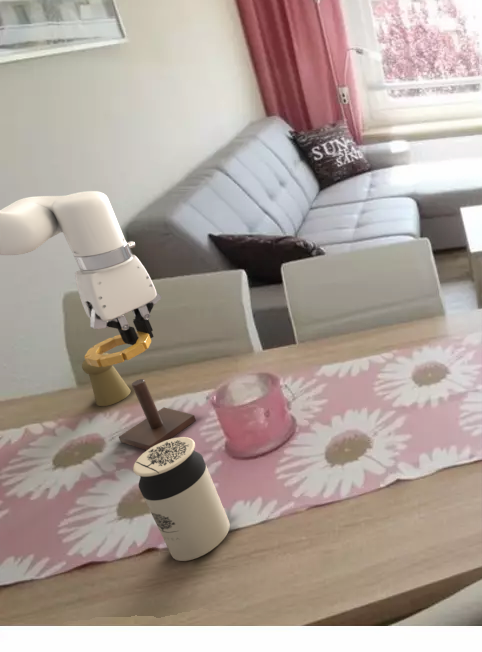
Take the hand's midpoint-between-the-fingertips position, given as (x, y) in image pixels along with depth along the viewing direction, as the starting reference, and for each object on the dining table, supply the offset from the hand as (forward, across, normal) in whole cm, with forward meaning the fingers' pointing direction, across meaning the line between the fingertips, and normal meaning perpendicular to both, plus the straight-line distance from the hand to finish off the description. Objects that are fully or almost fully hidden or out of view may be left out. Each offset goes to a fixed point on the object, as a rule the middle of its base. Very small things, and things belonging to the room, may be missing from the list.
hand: (140, 340), depth 106 cm
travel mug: (+20, +19, +33) cm, 44 cm away
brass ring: (0, +4, 0) cm, 4 cm away
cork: (+20, -2, -22) cm, 30 cm away
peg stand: (+20, +3, 0) cm, 20 cm away
